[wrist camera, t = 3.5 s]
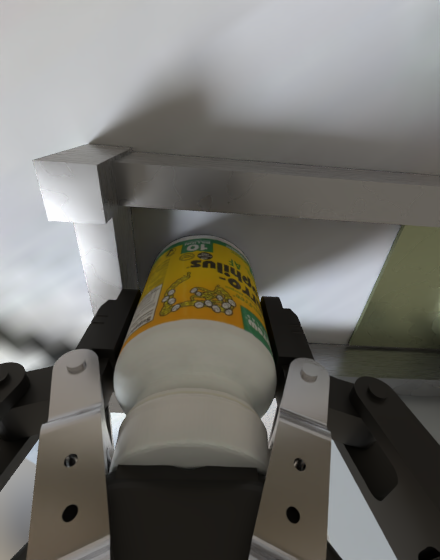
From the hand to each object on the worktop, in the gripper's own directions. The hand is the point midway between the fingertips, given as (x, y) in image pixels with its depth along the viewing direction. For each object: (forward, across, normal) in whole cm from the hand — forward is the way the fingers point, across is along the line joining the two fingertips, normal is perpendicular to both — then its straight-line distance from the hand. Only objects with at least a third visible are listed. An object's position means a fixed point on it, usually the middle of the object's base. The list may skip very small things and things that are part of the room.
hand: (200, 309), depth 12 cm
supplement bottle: (+3, 0, 0) cm, 3 cm away
